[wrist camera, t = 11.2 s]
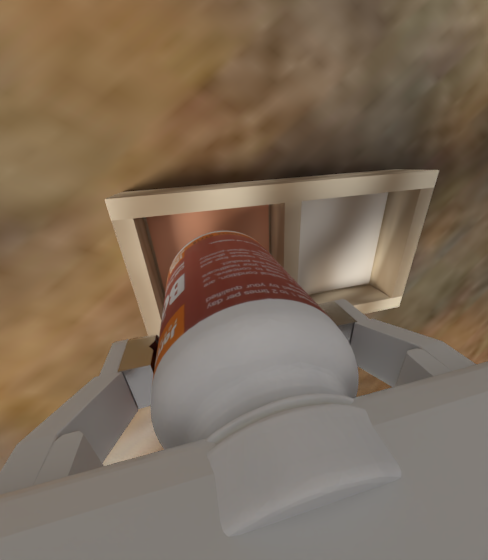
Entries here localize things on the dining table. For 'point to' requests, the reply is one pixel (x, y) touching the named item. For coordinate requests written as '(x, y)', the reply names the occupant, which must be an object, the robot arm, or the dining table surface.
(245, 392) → the pill bottle
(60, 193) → the dining table surface
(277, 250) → the tray
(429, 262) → the dining table surface
